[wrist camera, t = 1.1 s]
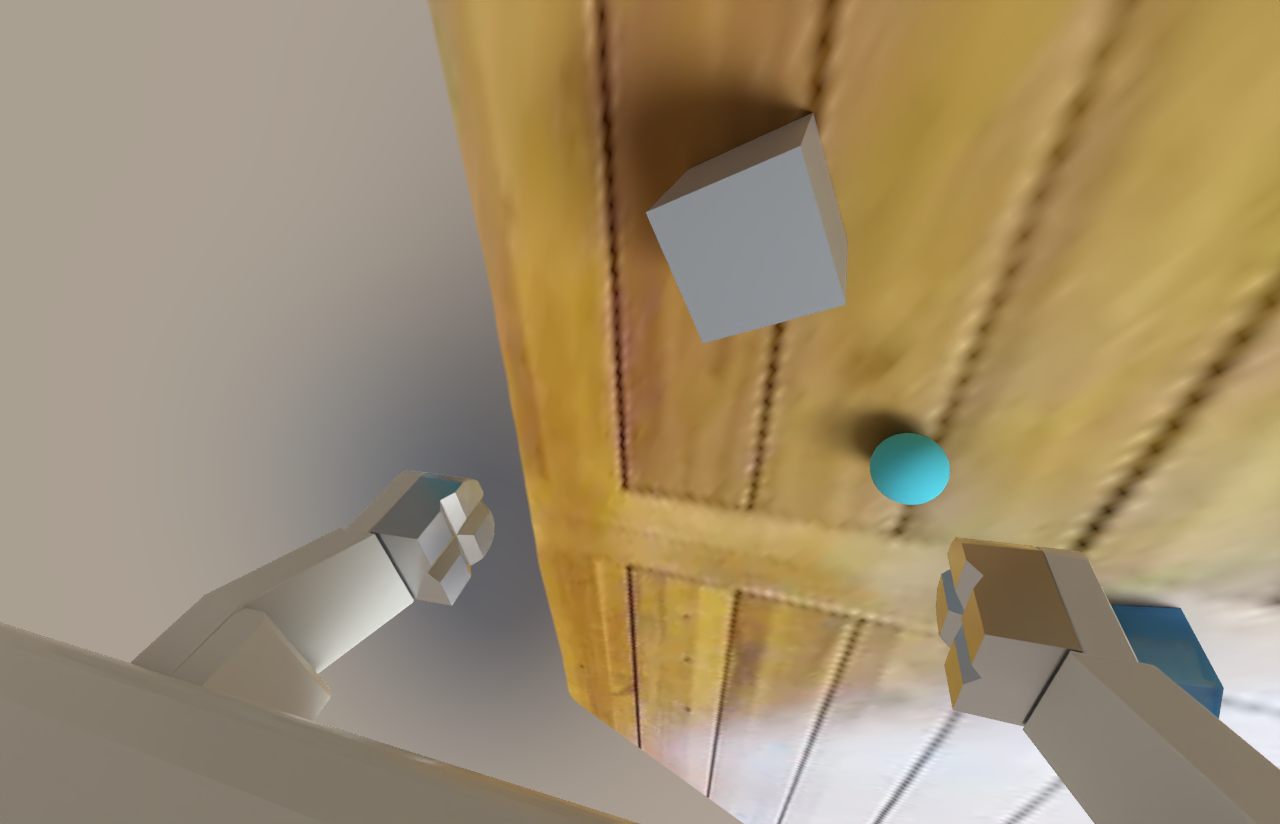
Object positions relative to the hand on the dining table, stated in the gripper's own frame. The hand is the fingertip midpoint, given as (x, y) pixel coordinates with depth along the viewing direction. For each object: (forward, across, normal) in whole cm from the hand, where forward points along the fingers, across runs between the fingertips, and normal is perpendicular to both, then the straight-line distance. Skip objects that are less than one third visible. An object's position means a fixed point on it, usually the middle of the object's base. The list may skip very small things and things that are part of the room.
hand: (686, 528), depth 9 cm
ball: (+25, -9, +19) cm, 33 cm away
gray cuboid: (+28, +1, +2) cm, 28 cm away
